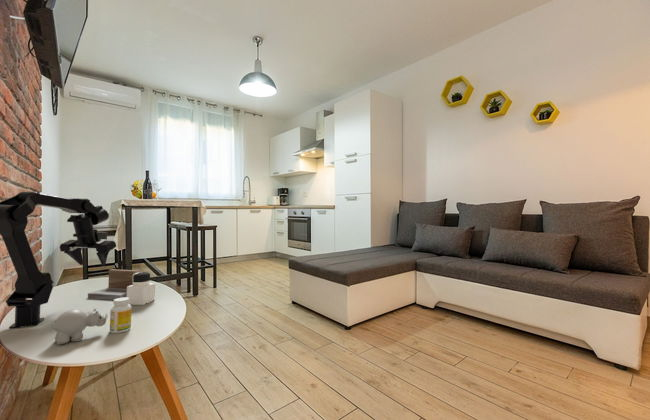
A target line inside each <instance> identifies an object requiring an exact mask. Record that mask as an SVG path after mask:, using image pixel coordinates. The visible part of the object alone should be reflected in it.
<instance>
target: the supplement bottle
mask: <svg viewBox="0 0 650 420" xmlns="http://www.w3.org/2000/svg"><path fill="white" fill-rule="evenodd" d="M128 303H129V298H127V297H123V298H117V299H115V300H113V306H111V308H110V311H109V313H110V314H109V332H110V333H111V334H120V333H125V332H127V331H129V330H131V327H132V325H131V324H132V305H130V304H128Z"/></svg>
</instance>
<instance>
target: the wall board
mask: <svg viewBox="0 0 650 420" xmlns="http://www.w3.org/2000/svg"><path fill="white" fill-rule="evenodd" d="M138 272H143V271H142V270H134V269H133V270H132V269H114V268H111V269H108V286H107V287H106V288H102V289H99V290H95V291H91V292H88V293H87V299H93V300H111V301H112V300H113V301H114V300H115V299H117V298H123V297H127V286H130V285H133V274H135V273H138Z"/></svg>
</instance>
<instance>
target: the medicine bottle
mask: <svg viewBox="0 0 650 420" xmlns="http://www.w3.org/2000/svg"><path fill="white" fill-rule="evenodd" d="M155 296H156V283H154V282H151V273H150V272H148V271H142V272H138V273H135V274H133V285H130V286H127V298H129V303H128V304H130V305H131V306H133V305H134V306H144V305H147V304H149V303H151V302H153V300H154V301H155V299H156V298H155ZM146 303H147V304H146Z"/></svg>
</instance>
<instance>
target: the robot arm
mask: <svg viewBox="0 0 650 420" xmlns="http://www.w3.org/2000/svg"><path fill="white" fill-rule="evenodd" d="M36 206H40V207H46V208H47V207H48V208H54V209H55V208H56V209H60V210H62V212H65V213H69V214H71V215H70V216H69V218H67V219H66V222H67V223H72V224H73V225H72V226H73V228H74V233H73V234H72V237H74V238H76V239H68V240H67V241H65V242H63V243H60V246H59V249H60V252H63V253H64V254H66V255H68V257H70V258H72V259H73V260H74V261H75V262H76V263H78V265H80V266H83V265H84V258H83V254H82V250H83V249H95V251H96V252H95V253H96V256H97V257H98V258H97V259H98V260H99V262H100V264H101V265H102V267H104V266H106V265H107V259H108V255H109V253H110V251H112V250H114V249H115V248H117V243H116V241H115V240H108V231H99V230H98V229H96V228H94V226H96V225H98V224H102V223H103V222H105V221H107V220H109V218H110V213H109V212H108V211H107V210H106V209H105V208H103V206H102V205H96V206H95V205H94V204H93V203H92V202H91V200H90V199H88V198H74V197H73V198H71V197H70V198H68V197H67V198H66V197H62V196H55V195H50V194H44V193H40V192H37V191H21V192H18V193H17V194H15V195H14V196H11V197H9V198H6V199H3V200H2V201H0V236H1V238H2V241H3V242H4V244H5V248H6V250H7V252H8V255H9V257H10V260H11V263H12V266H13V267H14V270H15V272H16V275H17V277H16V280H15V283H14V289H15V290H14V291H13V292H12V293H11V294H10V295H9V297H8V298H6V300H5V302H6V306H7V307H15V308H14V323H12V324H11V325H9V327H8V329H16V328H25V327H33V326H38V325H39V324H40V323H42V322H43V321H44V320H45V317H41V305H44V304H48V302H49V300H50V297H51V294H52V291H53V289H54V287H53V284H54V281H53V280H52V275H51V273H50V272H42V271H40V269H39V267H38V264H37V261H36V258H35V256H34V252H33V251H32V248H31V244H30V243H29V242H30V241H29V239H28V237H27V234H26V231H25V230H26V228H27V226H28V223H29V220H28V216H29V215H31V214H32V213H33V212H34V211H35V209H36ZM76 214H77V215H76ZM102 240H104V241H102ZM101 241H102V242H101ZM99 242H100V243H99Z"/></svg>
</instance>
